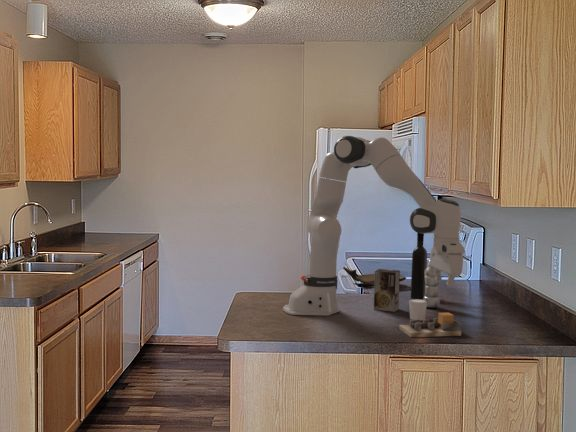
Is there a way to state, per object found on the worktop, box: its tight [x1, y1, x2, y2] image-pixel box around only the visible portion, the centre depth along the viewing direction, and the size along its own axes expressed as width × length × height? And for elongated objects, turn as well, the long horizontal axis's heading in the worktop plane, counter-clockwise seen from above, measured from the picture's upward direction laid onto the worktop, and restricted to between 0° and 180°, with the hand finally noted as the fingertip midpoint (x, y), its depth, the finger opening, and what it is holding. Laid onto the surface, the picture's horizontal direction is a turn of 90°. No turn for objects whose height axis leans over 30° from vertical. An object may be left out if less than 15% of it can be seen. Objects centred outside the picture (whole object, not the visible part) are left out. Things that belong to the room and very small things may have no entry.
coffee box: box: [373, 268, 401, 313], centre depth 275 cm, size 9×6×16 cm
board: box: [398, 317, 462, 338], centre depth 241 cm, size 20×11×4 cm, turn 101°
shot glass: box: [408, 298, 427, 321], centre depth 261 cm, size 7×7×7 cm
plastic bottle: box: [422, 259, 441, 309], centre depth 280 cm, size 6×7×20 cm
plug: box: [412, 311, 454, 329], centre depth 241 cm, size 15×4×5 cm, turn 102°
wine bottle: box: [410, 232, 428, 300], centre depth 299 cm, size 6×6×30 cm
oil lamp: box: [343, 266, 407, 288], centre depth 327 cm, size 22×30×8 cm
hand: (443, 283), depth 241 cm, fingers open, 8 cm apart
